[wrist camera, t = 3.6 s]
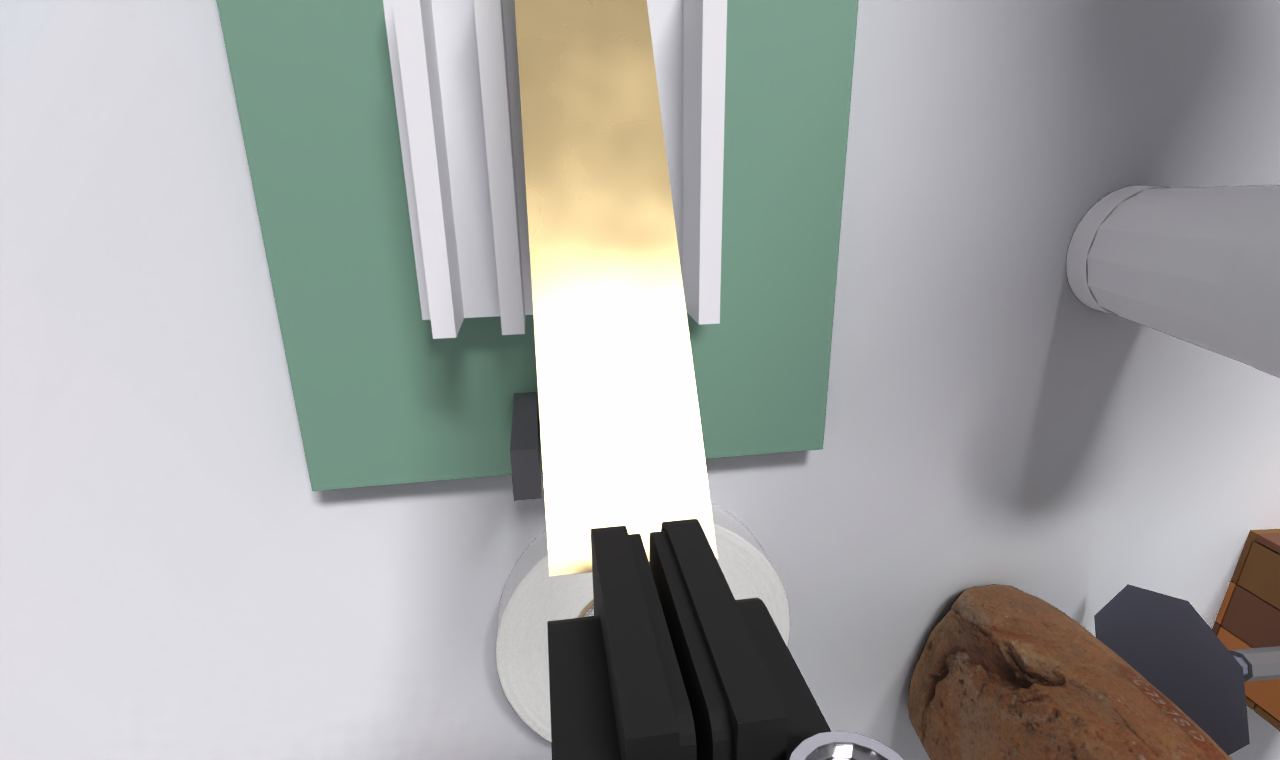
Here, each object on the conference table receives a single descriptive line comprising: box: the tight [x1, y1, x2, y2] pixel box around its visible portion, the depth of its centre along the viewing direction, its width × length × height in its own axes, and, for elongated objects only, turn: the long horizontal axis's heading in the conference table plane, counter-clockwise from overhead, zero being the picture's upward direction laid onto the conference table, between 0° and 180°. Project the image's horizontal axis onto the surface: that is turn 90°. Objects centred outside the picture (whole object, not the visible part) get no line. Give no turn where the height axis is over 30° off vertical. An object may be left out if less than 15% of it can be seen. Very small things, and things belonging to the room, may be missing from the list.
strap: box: [515, 0, 718, 577], centre depth 15 cm, size 23×3×2 cm
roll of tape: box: [496, 503, 790, 743], centre depth 36 cm, size 16×15×3 cm
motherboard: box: [217, 0, 858, 500], centre depth 25 cm, size 28×24×8 cm
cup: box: [1066, 185, 1280, 378], centre depth 28 cm, size 8×8×12 cm
